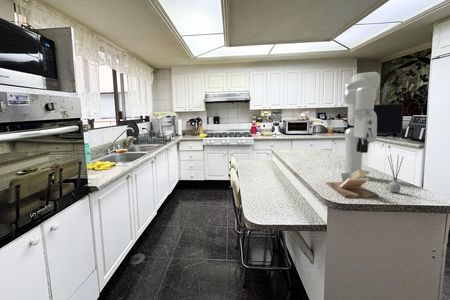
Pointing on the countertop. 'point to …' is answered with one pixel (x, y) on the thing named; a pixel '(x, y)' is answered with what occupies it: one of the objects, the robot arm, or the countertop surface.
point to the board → (352, 191)
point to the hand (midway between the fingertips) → (361, 151)
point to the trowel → (353, 175)
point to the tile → (353, 182)
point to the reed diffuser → (394, 180)
